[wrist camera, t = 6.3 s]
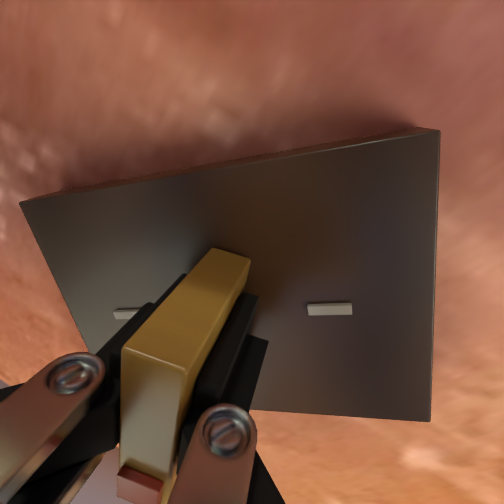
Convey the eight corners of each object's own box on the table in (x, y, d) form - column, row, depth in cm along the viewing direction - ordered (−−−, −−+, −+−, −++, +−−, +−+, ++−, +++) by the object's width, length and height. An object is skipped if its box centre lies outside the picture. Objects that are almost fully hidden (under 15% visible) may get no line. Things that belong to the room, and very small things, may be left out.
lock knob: (212, 245, 10) (111, 356, 6) (252, 258, 10) (182, 382, 5) (193, 354, 12) (110, 498, 8) (226, 366, 12) (161, 519, 8)
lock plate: (420, 126, 9) (443, 129, 7) (417, 380, 13) (432, 427, 11) (59, 190, 13) (13, 203, 11) (134, 370, 17) (109, 403, 15)
